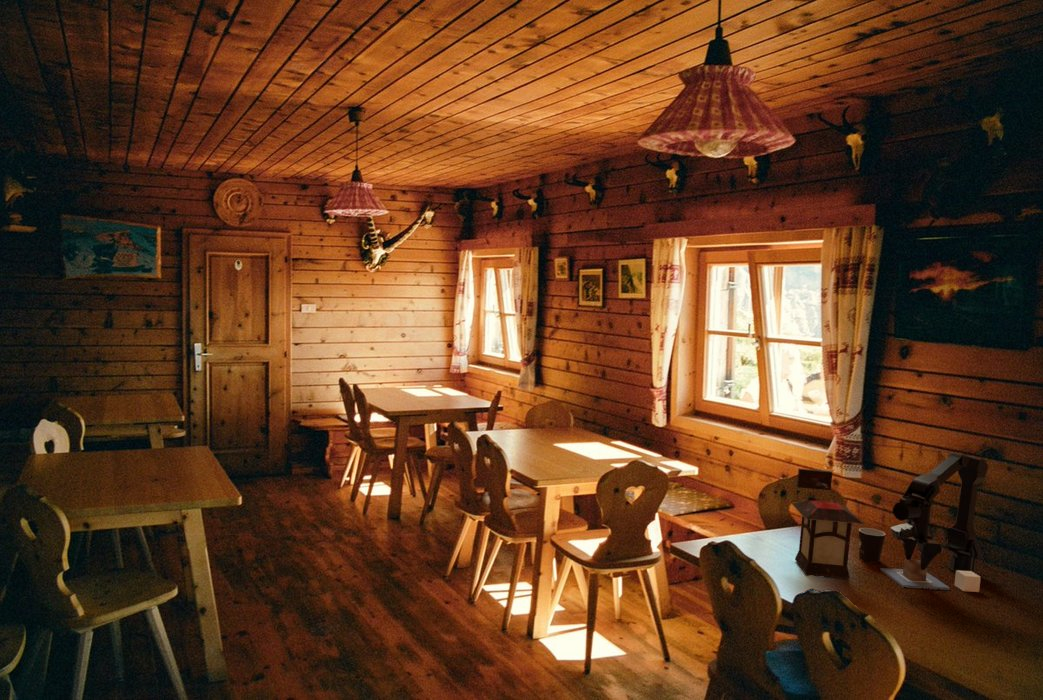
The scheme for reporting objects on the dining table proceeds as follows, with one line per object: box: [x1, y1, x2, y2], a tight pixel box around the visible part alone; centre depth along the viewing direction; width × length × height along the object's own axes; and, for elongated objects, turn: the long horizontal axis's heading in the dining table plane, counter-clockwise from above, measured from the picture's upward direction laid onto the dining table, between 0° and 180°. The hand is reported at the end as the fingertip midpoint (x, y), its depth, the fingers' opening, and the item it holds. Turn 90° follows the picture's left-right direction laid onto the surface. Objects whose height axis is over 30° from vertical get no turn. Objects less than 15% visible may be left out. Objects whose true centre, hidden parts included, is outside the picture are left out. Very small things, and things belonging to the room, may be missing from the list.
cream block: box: [954, 570, 981, 593], centre depth 251 cm, size 5×5×5 cm
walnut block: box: [903, 559, 928, 581], centre depth 255 cm, size 5×5×5 cm
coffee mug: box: [858, 527, 886, 564], centre depth 274 cm, size 12×9×10 cm
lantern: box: [791, 468, 865, 580], centre depth 261 cm, size 18×26×30 cm
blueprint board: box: [879, 567, 951, 591], centre depth 255 cm, size 15×15×1 cm
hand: (915, 564), depth 255 cm, fingers open, 9 cm apart
